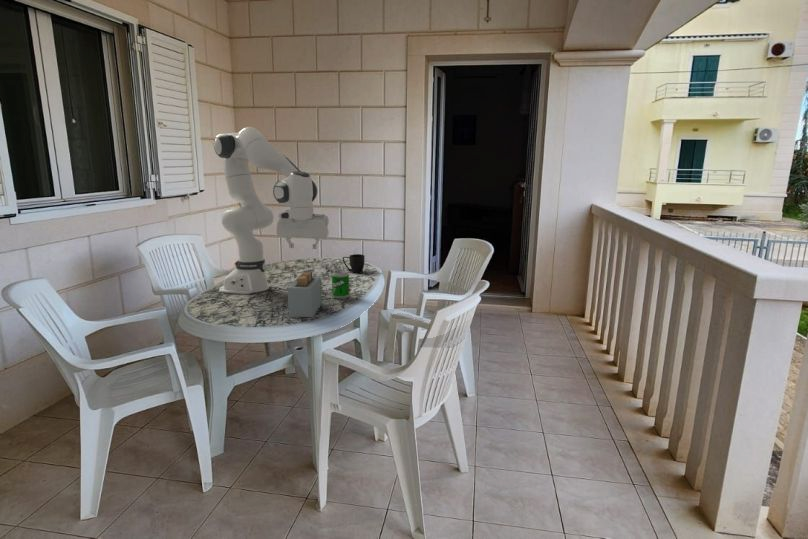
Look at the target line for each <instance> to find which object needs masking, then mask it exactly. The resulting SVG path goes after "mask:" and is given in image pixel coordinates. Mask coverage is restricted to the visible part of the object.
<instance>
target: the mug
mask: <svg viewBox="0 0 808 539" xmlns="http://www.w3.org/2000/svg"><path fill="white" fill-rule="evenodd" d="M345 258H346V259H349V266H350V267H349V266H348V265H347V264H346V261H345ZM342 262H343V264H344V265H345V267H346V268H347V270H348V271H349V272H350V273H352V272H353V273H352V274H355V273H359V274H362V273H363V271H364V267H365V262H366V261H365V255H364V254H361V253H359V254H357V253H355V254H350V255H349V256H343V257H342ZM361 272H362V273H361Z"/></svg>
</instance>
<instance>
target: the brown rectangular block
mask: <svg viewBox="0 0 808 539" xmlns="http://www.w3.org/2000/svg"><path fill="white" fill-rule="evenodd" d="M312 277H313V271H303V272H302V273H301V274H300V275H299V276H297V277H296V280H297V287H307V286H308V285H309V284H310V283H311V282H312Z"/></svg>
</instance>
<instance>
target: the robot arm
mask: <svg viewBox="0 0 808 539" xmlns="http://www.w3.org/2000/svg"><path fill="white" fill-rule="evenodd" d="M213 150H214V151H215V154H216V155H217V156H218V157H219V158H222V159H223V172H224V176H225V180H226V185H227V189H228V194H229V196H230V197H231V198H232V199H233V200H235V201H236V202H238V203H239V204H240V206H241V207H234V208H231V209H228V210H226V211H224V212H223V214H222V216H221V224H222V226H223V228H224V230H225V231H227V232H229V233H230V234H231V235H232V237H233V238H234V240H235V242H236V245H237V253H238V260H236V262H235V263H234V266H235V268H234V269H233V270H232V271H230V272H229V274H227V275H226V276H225V278H224V280H223V285H222V286H220V287H219V289H218V291H219V293H227V294H240V295H249V294H253V293H260V292H264V291H266V290H268V289H270V286H269V282H268V279H267V278H268V277H267V275H266V266H267V264H266V261H265V260H266V259H265V256H264V244H263V242H262V241H261V240H259V238H256V237H255V235H254V234H255V233H254V231H257V230H263V229H265V228H267V227H268V228H269V227H271V225H272V224H273V223H274V219H275V218H274V213H273V211H272V210H271V209H270V207H268V206H267V205H265V204H264V203H263V202H262V201H261V199H260V198H259V196H258V194H257V191H256V190H255V186H254V183H253V179H252V175H251V171H250V167H249V162H250V163H251V164H252V165H253V166H254V167H256V168H258V169H260V170H267V171H272V172H277V173H279V174H282V175H283V176H285V178H283V179H280V180H277V181H276V182H275V184H274V185H273V189H272V190H273V197H274V199H275V200H276V202H277V203H279V204H283V205H288V204H289V206H290V208H289V209H287V210H284V211H281V212H280V213H278V220H277V223H276V235H277V236H278V237H279V238H285V240H286V242H287V243H288V248H289V249H294V248H295V243H294V242H292V241H291V239H292V238H305V239H306V238H309V239H313V238H314V241H316V242H314V243H313V244H312V249H313V250H317V249H318V244H319V241H321V239H326V238H328V236H329V227H328V225H329V222H330V221H329V217H328V216H327V215H325V214H322V213H321V214H318V213H316V214H315V213H314V204H313V202H314V200H315V199H316V198H317V195H318V188H317V184H316V183H315V182H314V181H313V179H312V177H311V175H310V174H309V173H308V172H305V171H301V170H300V169H299V168H298V167H297V166H296V164H295V163H294V162H292V161H291V160H290V159H289V157H287V156H285V155H284V154H282V152H279V151H278V150H277V149H276V148H275V147H274V146H273V145H272V144H271V143H270V142H269V141H268V139H267V138H266V136H264V134H262V133H261V132H260V131H259V130H258V129H257V128H255V127H252V126H247V127H244V128H242V129H241V130H240V131H239V132H228V133H220V134H216V136H215V137H214V138H213Z"/></svg>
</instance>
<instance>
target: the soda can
mask: <svg viewBox="0 0 808 539" xmlns="http://www.w3.org/2000/svg"><path fill="white" fill-rule="evenodd" d="M349 276H350V275H349V272H348V271H347V270H344V269H339V270H338V269H337V270H334V271H333V272H332V273H331V290H332V291H331V294H332V295H331V296H332V297H333V298H334V299H335V298H336V299H335V300H345V299H348V298H349V296H350V290H349V288H350V277H349Z"/></svg>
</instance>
